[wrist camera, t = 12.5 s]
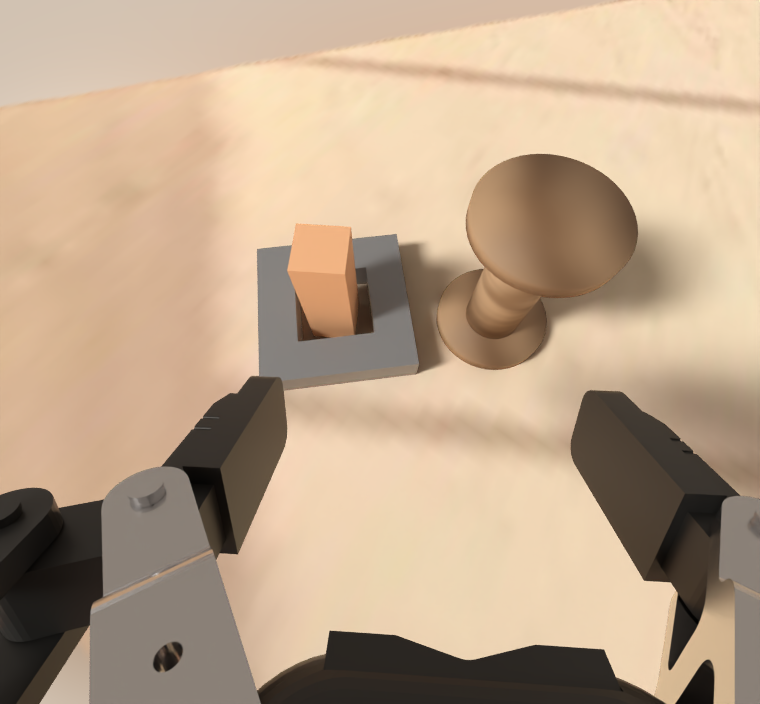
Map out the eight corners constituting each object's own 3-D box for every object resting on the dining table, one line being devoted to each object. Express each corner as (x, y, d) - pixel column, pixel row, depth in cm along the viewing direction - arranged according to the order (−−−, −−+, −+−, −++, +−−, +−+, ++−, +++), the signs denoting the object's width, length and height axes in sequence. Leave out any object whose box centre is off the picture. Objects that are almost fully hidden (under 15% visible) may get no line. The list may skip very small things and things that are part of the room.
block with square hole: (395, 251, 35) (396, 234, 33) (416, 374, 31) (419, 363, 29) (265, 265, 35) (257, 249, 33) (268, 392, 31) (259, 383, 28)
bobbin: (526, 270, 35) (604, 147, 23) (554, 362, 31) (664, 277, 19) (428, 281, 34) (454, 161, 22) (447, 376, 31) (490, 297, 19)
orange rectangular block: (358, 302, 34) (350, 226, 24) (355, 339, 32) (344, 274, 23) (319, 299, 34) (296, 223, 24) (314, 336, 32) (287, 270, 23)
